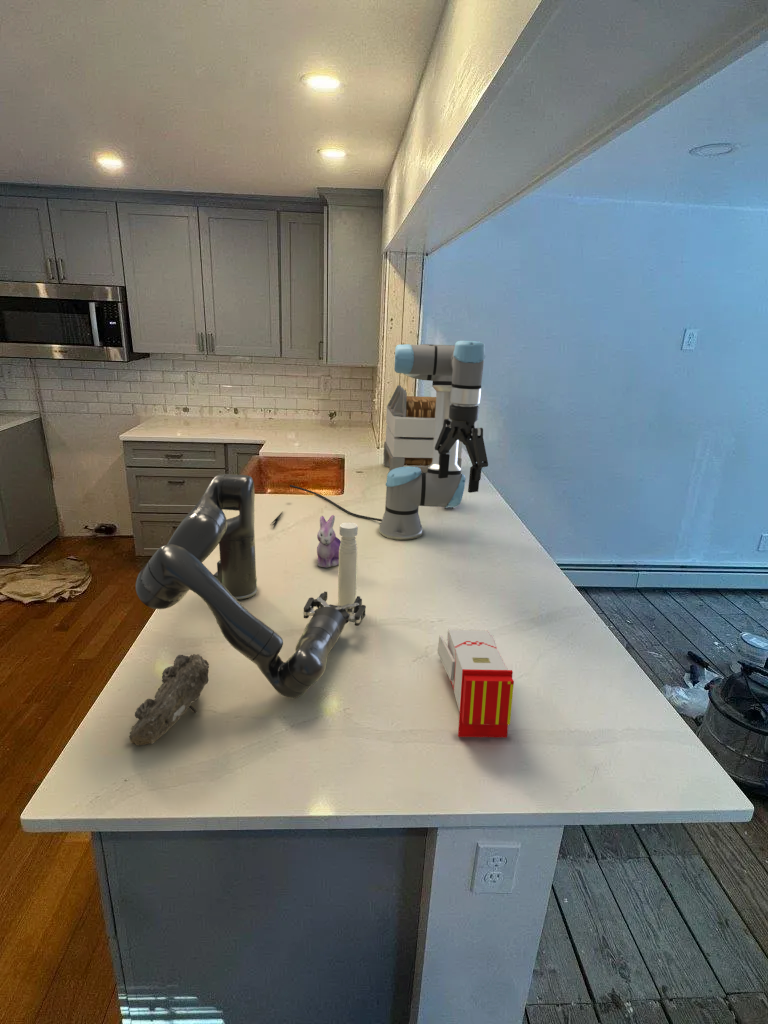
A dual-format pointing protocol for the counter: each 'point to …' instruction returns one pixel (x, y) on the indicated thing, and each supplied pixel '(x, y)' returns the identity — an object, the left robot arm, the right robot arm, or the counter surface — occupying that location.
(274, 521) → the feather
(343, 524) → the cap
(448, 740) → the counter surface
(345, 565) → the bottle
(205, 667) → the fossil
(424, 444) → the grey slatted box
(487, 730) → the toy
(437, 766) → the counter surface
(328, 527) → the figurine
